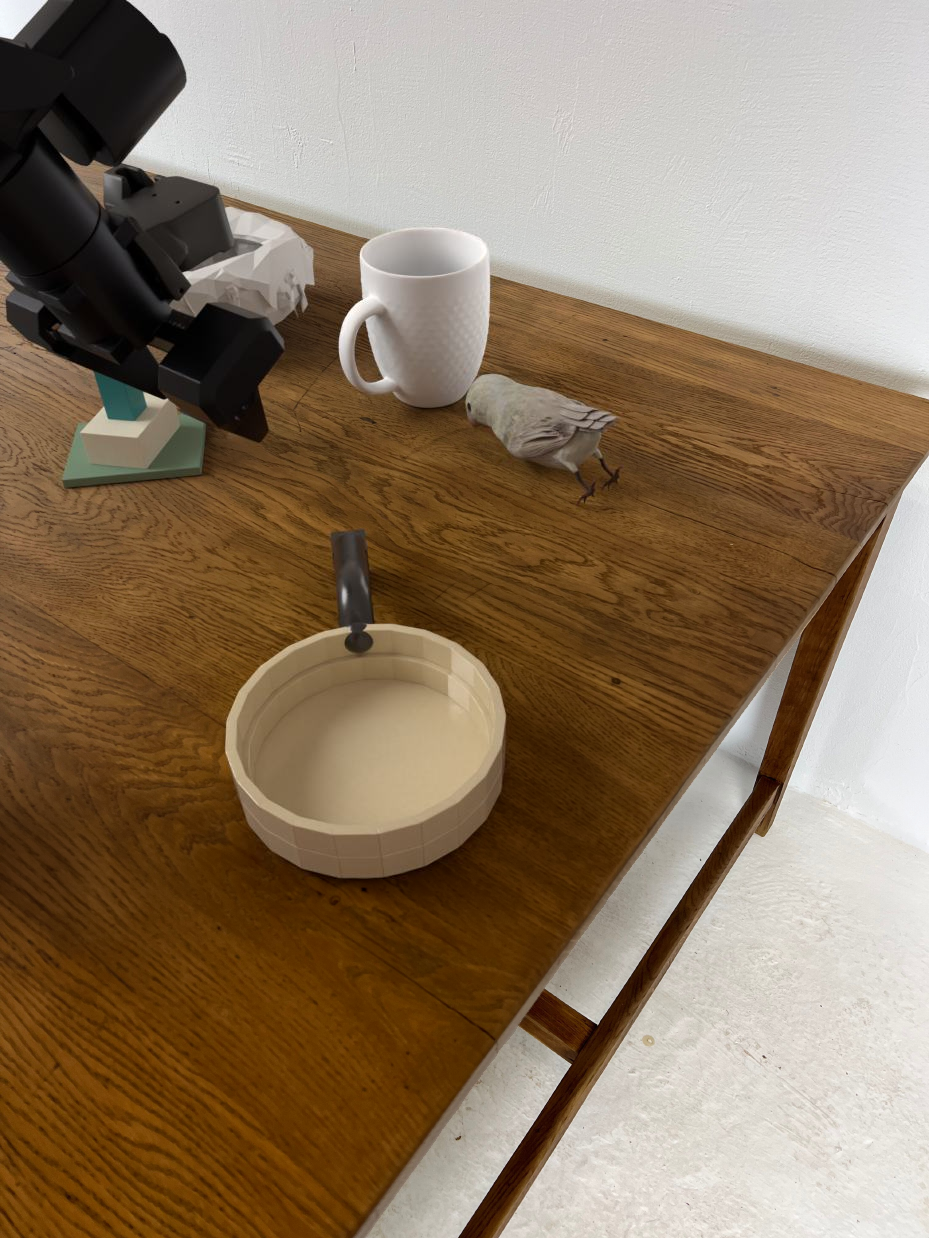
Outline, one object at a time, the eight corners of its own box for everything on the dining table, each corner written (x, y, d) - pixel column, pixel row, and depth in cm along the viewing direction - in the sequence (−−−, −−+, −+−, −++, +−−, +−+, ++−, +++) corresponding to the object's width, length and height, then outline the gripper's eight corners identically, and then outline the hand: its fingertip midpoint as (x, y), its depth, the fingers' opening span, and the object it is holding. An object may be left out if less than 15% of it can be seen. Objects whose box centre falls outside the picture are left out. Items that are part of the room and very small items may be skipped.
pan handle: (345, 691, 59) (337, 636, 56) (335, 571, 68) (328, 519, 65) (383, 686, 59) (377, 632, 56) (368, 568, 68) (363, 515, 65)
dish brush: (146, 469, 77) (101, 311, 68) (90, 464, 77) (37, 306, 68) (180, 425, 82) (142, 272, 73) (127, 420, 82) (83, 269, 73)
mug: (391, 452, 79) (379, 303, 71) (313, 405, 85) (294, 263, 77) (514, 391, 87) (517, 249, 78) (435, 352, 93) (429, 216, 84)
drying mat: (64, 488, 76) (61, 480, 76) (80, 431, 83) (77, 423, 82) (201, 475, 77) (199, 467, 77) (207, 419, 84) (205, 411, 83)
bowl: (87, 324, 99) (58, 227, 92) (260, 275, 108) (245, 183, 101) (170, 401, 86) (144, 296, 80) (357, 338, 95) (348, 238, 89)
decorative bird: (494, 415, 84) (494, 336, 79) (630, 491, 75) (641, 407, 70) (448, 437, 81) (446, 356, 76) (584, 518, 72) (591, 432, 67)
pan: (236, 905, 48) (219, 855, 45) (243, 690, 59) (230, 638, 56) (528, 864, 49) (530, 813, 46) (480, 661, 61) (480, 610, 58)
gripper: (271, 150, 45) (389, 359, 58) (42, 94, 53) (192, 287, 67) (131, 326, 43) (288, 501, 56) (-84, 238, 51) (97, 408, 65)
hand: (214, 414), depth 61 cm, fingers open, 9 cm apart
